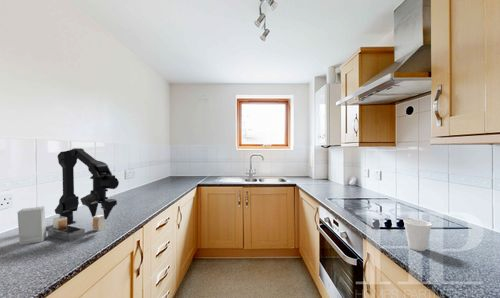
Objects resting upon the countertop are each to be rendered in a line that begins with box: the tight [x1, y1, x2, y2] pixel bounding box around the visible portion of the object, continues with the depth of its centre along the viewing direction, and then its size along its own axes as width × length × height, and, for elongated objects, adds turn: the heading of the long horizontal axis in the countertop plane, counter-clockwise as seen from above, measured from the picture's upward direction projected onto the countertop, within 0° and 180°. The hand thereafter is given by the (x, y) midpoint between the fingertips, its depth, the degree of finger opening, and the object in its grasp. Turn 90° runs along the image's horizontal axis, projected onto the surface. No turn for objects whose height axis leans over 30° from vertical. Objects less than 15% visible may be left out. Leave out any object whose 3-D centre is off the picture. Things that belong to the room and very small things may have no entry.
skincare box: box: [17, 206, 47, 246], centre depth 111 cm, size 8×6×15 cm
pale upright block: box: [92, 214, 107, 232], centre depth 127 cm, size 4×4×7 cm
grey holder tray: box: [47, 216, 86, 242], centre depth 117 cm, size 16×7×8 cm, turn 66°
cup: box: [403, 218, 433, 252], centre depth 103 cm, size 10×10×11 cm
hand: (99, 218), depth 127 cm, fingers open, 9 cm apart
